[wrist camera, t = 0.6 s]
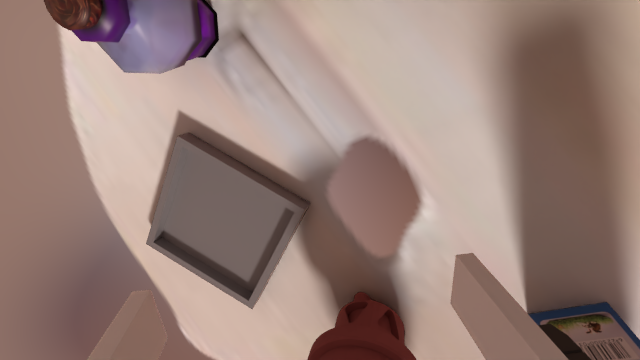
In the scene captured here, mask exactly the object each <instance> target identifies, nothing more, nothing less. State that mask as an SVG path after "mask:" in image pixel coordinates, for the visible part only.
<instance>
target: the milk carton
mask: <svg viewBox="0 0 640 360" xmlns="http://www.w3.org/2000/svg"><path fill="white" fill-rule="evenodd" d="M528 315H529V316H530V317H531V318H532V319H533V321H534V322H535V323H536V324H537V325H544V324H552V325H553V326H555V327H556V328H558V329H559V330H561V331H562V332H564V333H565V334H567V335H568V336H569V337H570V338H571V339H572V340H573V341H574V342H575V343H576V344H577V345H578V346H579V347H580V348H581V349H582V352H585V353H586V354H587V355H588V356H589V357H590V358H591V359H592V360H640V340H639V339H638V337H637V336H636V335H635V334H634V333H633V332H632V331H631V329H630V328H629V327H628V326H627V325H626V324H625V322H624V321H623V320H622V319H621V318H620V317H619V316H618V314H617V313H616V312H615V311H614V310H613V309H612V307H611V306H610V305H609V304H608V303H607V302H604V303H597V304H591V305H584V306H578V307H571V308H565V309H558V310H552V311H545V312H539V313H532V314H528Z"/></svg>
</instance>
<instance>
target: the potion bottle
mask: <svg viewBox="0 0 640 360" xmlns="http://www.w3.org/2000/svg"><path fill="white" fill-rule="evenodd" d="M44 2H45V5H46V8H47V10H48V11H49V13H50V14H51V16H52V17H53V19H54V20H55V21H56V22H57V23H58V24H60V25H61V26H62V27H64V28H66V29H68V30H72V32H73V33H74V34H75V35H76V36H77V37H78V38H79V39H80V40H81V41H89V42H97V43H98V44H99V46H100V47H101V48H102V49H103V50H104V51H105V52H106V53H107V54H108V55H109V56H110V57H111V59H112V60H113V61H114V62H115V63H116V64H117V65H118V66H119V67H120V68H121V69H122V70H123V71H124V72H128V73H158V74H161V73H164V72H166V71H169V70H172V69H175V68H178V67H180V66H183V65H184V64H185V63H186V61H188V60H191V59H194V58H196V57H205V58H206V56H207V55H208V54H209V52H210V51H211V50H212V48H213V47H214V46H215V44H216V43H217V42H218V40H219V36H218V23H217V13H216V12H215V11H214V10H213V9H212V7H211V6H210V5H209V4H208V3H207V2H206V1H205V0H44Z"/></svg>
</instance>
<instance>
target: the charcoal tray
mask: <svg viewBox="0 0 640 360" xmlns="http://www.w3.org/2000/svg"><path fill="white" fill-rule="evenodd" d="M309 205H310V203H309V202H308V201H306V200H304V199H303V198H301V197H299V196H297V195H296V194H294V193H292V192H290V191H289V190H287V189H285V188H284V187H282V186H280V185H278V184H277V183H275V182H273V181H271V180H270V179H268V178H266V177H265V176H263V175H261V174H259V173H258V172H256V171H254V170H252V169H251V168H249V167H247V166H246V165H244V164H242V163H240V162H239V161H237V160H235V159H234V158H232V157H230V156H228V155H227V154H225V153H223V152H221V151H220V150H218V149H216V148H215V147H213V146H211V145H209V144H208V143H206V142H204V141H202V140H201V139H199V138H197V137H196V136H194V135H192V134H190V133H186V134H183V135H179V136H177V139H176V143H175V146H174V149H173V153H172V156H171V160H170V163H169V167H168V170H167V174H166V177H165V180H164V184H163V187H162V191H161V194H160V198H159V201H158V205H157V208H156V211H155V215H154V218H153V222H152V225H151V229H150V232H149V236H148V239H147V242H146V244H147V245H149V246H150V247H152V248H154V249H155V250H157V251H159V252H160V253H162V254H163V255H165V256H167V257H168V258H170V259H172V260H173V261H175V262H176V263H178V264H180V265H181V266H183V267H185V268H186V269H188V270H189V271H191V272H193V273H194V274H196V275H198V276H199V277H201V278H202V279H204V280H206V281H207V282H209V283H211V284H212V285H214V286H215V287H217V288H219V289H220V290H222V291H224V292H225V293H227V294H228V295H230V296H232V297H233V298H235V299H237V300H238V301H240V302H241V303H243V304H245V305H246V306H248V307H250V308H251V309H253V307H254V306H255V304H256V303H257V301H258V300H259V298H260V296H261V294H262V292H263V290H264V289H265V287H266V285H267V283H268V281H269V279H270V277H271V276H272V274H273V272H274V270H275V268H276V266H277V264H278V263H279V261H280V259H281V257H282V255H283V253H284V251H285V250H286V248H287V246H288V244H289V242H290V240H291V238H292V237H293V235H294V233H295V231H296V229H297V227H298V225H299V223H300V222H301V220H302V218H303V216H304V214H305V212H306V210H307V209H308V207H309Z"/></svg>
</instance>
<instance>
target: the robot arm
mask: <svg viewBox="0 0 640 360" xmlns="http://www.w3.org/2000/svg"><path fill="white" fill-rule="evenodd" d="M451 305H452V307H453V308H454V310H455V311H456V313H457V315H458V316H459V318H460V319H461V321H462V322H463V324H464V326H465V327H466V329H467V330H468V332H469V334H470V335H471V337H472V338H473V340H474V341H475V343H476V345H477V346H478V348H479V349H480V351H481V353H482V354H483V356H484V357H485V359H486V360H592V359H591V358H590V357H589V356H588V355H587V354H586V353H585V352H582V349H581V348H580V347H579V346H578V345H577V344H576V343H575V342H574V341H573V340H572V339H571V338H570V337H569V336H568V335H567V334H565V333H564V332H562V331H561V330H559V329H558V328H556V327H555V326H553V325H552V324H544V325H537V324H536V323H535V322H534V321H533V319H532V318H531V317H530V316H529V315H528V314H527V313H526V312H525V311H524V309H523V308H522V307H521V306H520V305H519V304H518V303H517V302H516V301H515V299H514V298H513V297H512V296H511V295H510V294H509V293H508V292H507V291H506V289H505V288H504V287H503V286H502V285H501V284H500V283H499V282H498V280H497V279H496V278H495V277H494V276H493V275H492V274H491V273H490V272H489V270H488V269H487V268H486V267H485V266H484V265H483V264H482V263H481V262H480V260H479V259H478V258H477V257H476V256H475V255H474V254H473V253H469V254H461V255H456V259H455V268H454V277H453V286H452V295H451ZM167 338H168V337H167V334H166V331H165V328H164V326H163V323H162V320H161V317H160V314H159V312H158V309H157V306H156V303H155V300H154V298H153V294H152V292H151V290H143V291H133V292H132V293H131V294H130V296H129V297H128V299H127V300H126V302H125V303H124V305H123V306H122V308H121V309H120V311H119V312H118V314H117V315H116V317H115V318H114V320H113V321H112V323H111V324H110V326H109V327H108V329H107V330H106V332H105V333H104V335H103V336H102V338H101V339H100V341H99V342H98V344H97V345H96V347H95V348H94V350H93V351H92V353H91V354H90V356H89V357H88V359H87V360H158V359H159V357H160V354H161V352H162V350H163V347H164V345H165V343H166V340H167Z"/></svg>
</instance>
